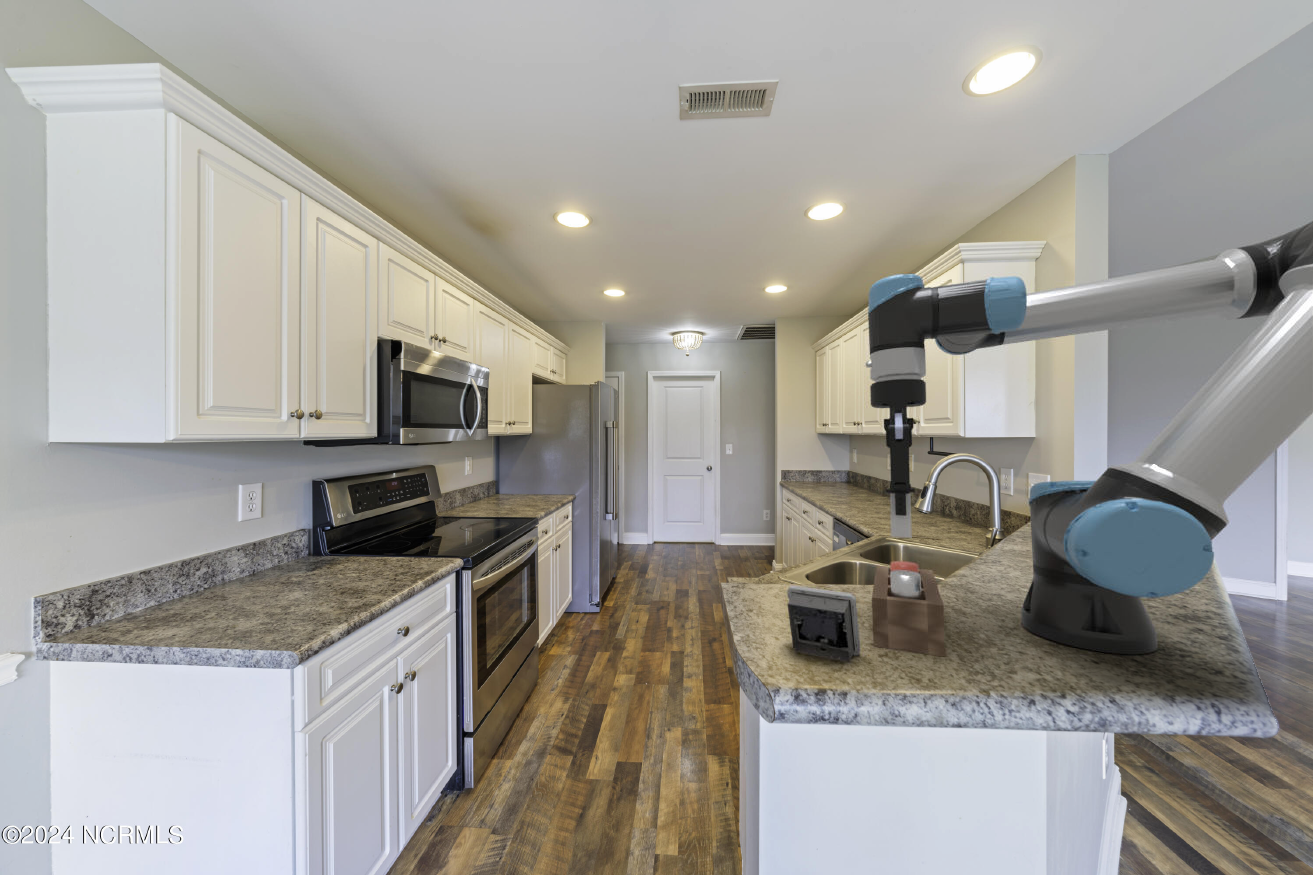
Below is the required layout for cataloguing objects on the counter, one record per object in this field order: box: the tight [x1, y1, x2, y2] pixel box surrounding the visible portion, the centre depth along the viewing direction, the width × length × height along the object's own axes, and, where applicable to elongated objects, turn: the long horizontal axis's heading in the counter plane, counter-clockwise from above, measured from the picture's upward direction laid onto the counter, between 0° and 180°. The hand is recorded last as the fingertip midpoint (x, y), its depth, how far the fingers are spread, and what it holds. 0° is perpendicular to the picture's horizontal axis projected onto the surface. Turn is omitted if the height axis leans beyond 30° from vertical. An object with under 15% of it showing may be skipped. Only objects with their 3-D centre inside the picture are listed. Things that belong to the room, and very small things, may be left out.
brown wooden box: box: [871, 565, 946, 658], centre depth 76 cm, size 9×21×7 cm, turn 153°
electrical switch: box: [786, 585, 861, 664], centre depth 66 cm, size 9×5×9 cm, turn 57°
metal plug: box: [890, 570, 921, 600], centre depth 70 cm, size 4×4×6 cm
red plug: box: [890, 560, 920, 573], centre depth 76 cm, size 4×4×6 cm
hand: (901, 536), depth 70 cm, fingers closed
